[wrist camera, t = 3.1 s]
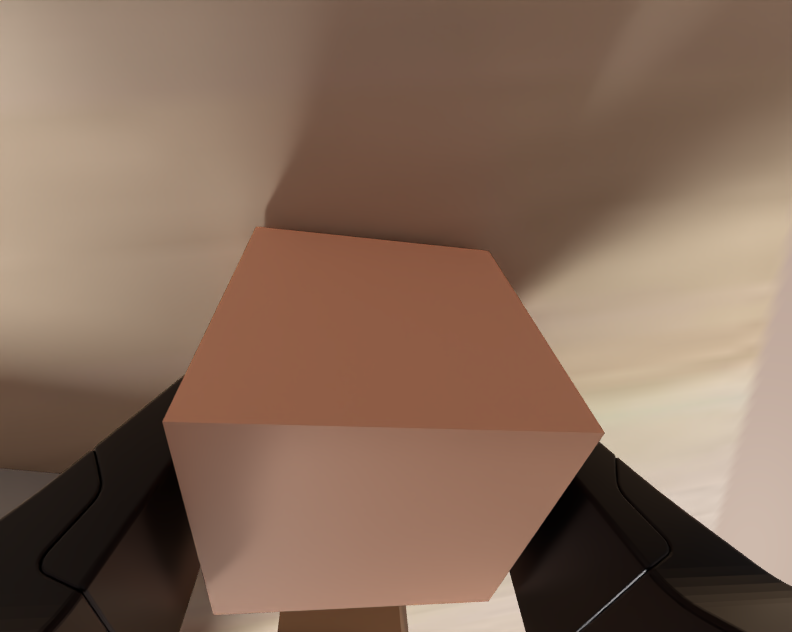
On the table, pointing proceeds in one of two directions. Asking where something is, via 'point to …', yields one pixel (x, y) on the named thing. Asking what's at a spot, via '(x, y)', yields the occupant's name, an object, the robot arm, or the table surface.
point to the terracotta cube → (369, 427)
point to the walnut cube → (345, 620)
